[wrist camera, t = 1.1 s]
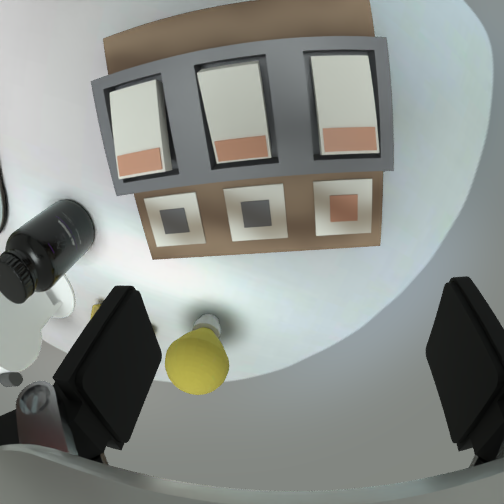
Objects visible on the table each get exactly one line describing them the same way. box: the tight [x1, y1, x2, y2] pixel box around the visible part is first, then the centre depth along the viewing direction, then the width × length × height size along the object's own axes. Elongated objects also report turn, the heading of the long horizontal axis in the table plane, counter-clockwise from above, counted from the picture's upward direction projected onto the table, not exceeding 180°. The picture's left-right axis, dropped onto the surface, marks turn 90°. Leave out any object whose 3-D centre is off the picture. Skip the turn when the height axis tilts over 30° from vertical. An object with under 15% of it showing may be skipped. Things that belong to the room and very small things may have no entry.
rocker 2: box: [197, 61, 272, 164], centre depth 21 cm, size 7×4×2 cm, turn 7°
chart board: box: [103, 0, 383, 260], centre depth 25 cm, size 22×22×2 cm
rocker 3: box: [310, 55, 379, 155], centre depth 20 cm, size 7×4×2 cm, turn 7°
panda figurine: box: [0, 274, 75, 387], centre depth 32 cm, size 12×11×15 cm
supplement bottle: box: [0, 200, 94, 304], centre depth 28 cm, size 7×7×12 cm
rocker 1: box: [110, 80, 172, 179], centre depth 22 cm, size 7×4×2 cm, turn 7°
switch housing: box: [91, 36, 394, 196], centre depth 22 cm, size 10×22×3 cm, turn 97°
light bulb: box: [165, 314, 229, 395], centre depth 34 cm, size 7×7×10 cm
